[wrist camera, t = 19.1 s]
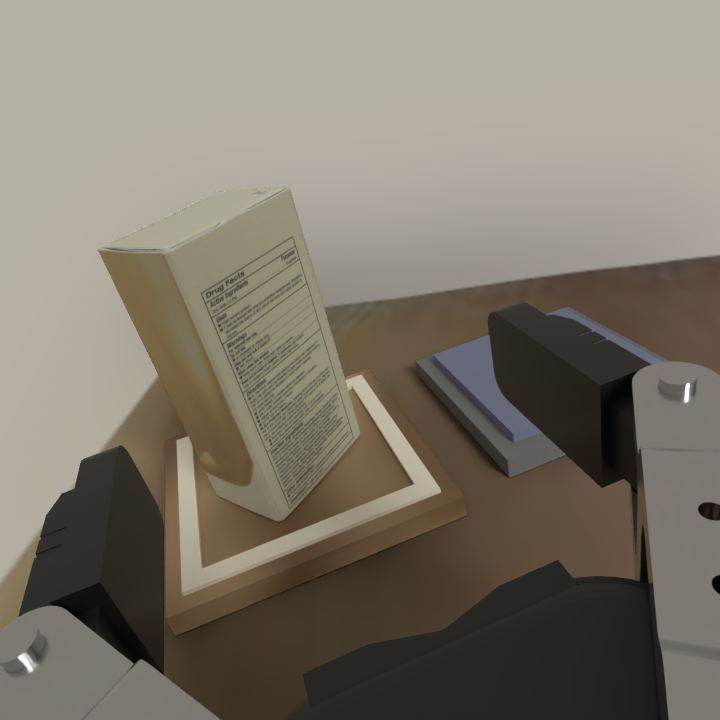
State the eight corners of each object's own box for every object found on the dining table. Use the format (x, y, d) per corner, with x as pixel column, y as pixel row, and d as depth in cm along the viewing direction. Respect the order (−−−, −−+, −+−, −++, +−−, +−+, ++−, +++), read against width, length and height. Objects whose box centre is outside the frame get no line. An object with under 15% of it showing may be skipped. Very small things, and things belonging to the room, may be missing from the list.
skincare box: (298, 419, 30) (222, 186, 24) (365, 436, 27) (297, 181, 21) (208, 501, 25) (88, 244, 20) (277, 531, 23) (162, 245, 17)
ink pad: (568, 321, 34) (567, 299, 34) (703, 398, 26) (706, 371, 25) (418, 375, 33) (414, 353, 32) (509, 477, 24) (506, 450, 23)
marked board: (373, 382, 33) (369, 365, 33) (467, 514, 23) (464, 493, 22) (171, 454, 31) (163, 438, 31) (175, 636, 21) (162, 615, 20)
